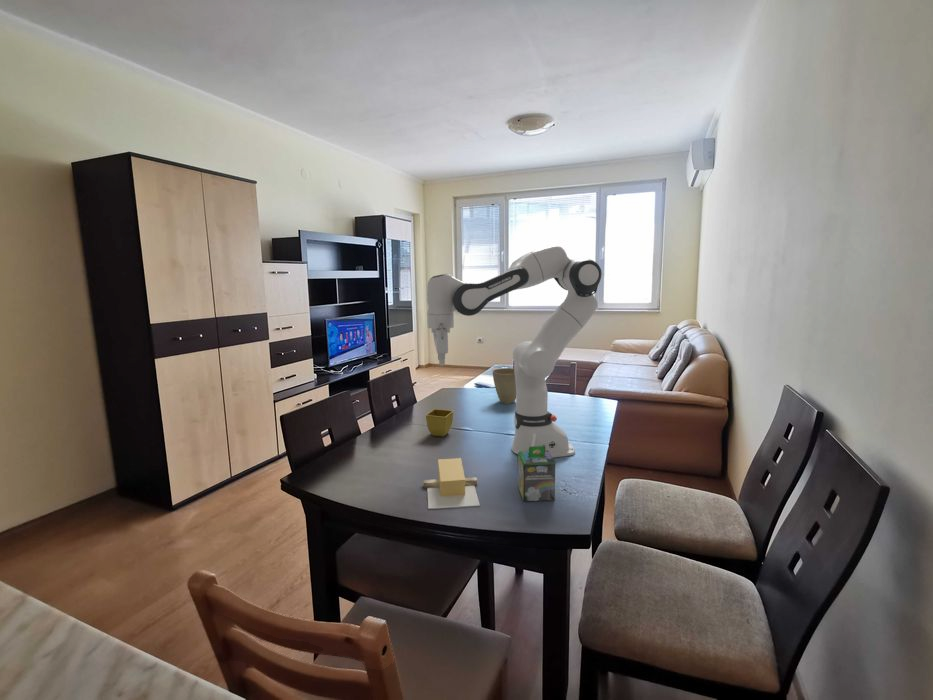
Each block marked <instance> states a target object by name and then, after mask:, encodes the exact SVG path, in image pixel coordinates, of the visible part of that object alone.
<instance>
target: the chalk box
mask: <svg viewBox="0 0 933 700" xmlns="http://www.w3.org/2000/svg"><path fill="white" fill-rule="evenodd" d="M534 450H537V451H534ZM517 455H518V458H517V459H518V460H517V462H518V465H517V466H518V468H517V469H518V490H519V492H520V496H521V498H522V501H523V502H549V501H550V502H551V501H552V502H554V501H555V500H556V499H555V498H556V495H555V493H556V489H555V488H556V461H555V460H554V459H555V458H552V456H551V454H550V453H549V451H548V450H545V446H532V447H529V451H523V452H518V454H517ZM553 500H554V501H553Z"/></svg>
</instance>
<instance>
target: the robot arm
mask: <svg viewBox="0 0 933 700" xmlns="http://www.w3.org/2000/svg"><path fill="white" fill-rule="evenodd" d="M601 268H602V267H600V264H598V263H597V262H596V261H594V260H593V259H590V258H574V259H570V258H569V257H568V255H567V253H566V250H565V249H564V248H563V247H562V246H561V245H558V244H552V245H548V246H543V247H540V248H537V249H534V250H533V251H530V252H527V253H525V254H524V255H522V256H520V257H519V258H517V259H516V260H514V261H512V262H511V265H510V266H509V267H508V269H506V271H504V272H503V273H501V274H499V275H496V276H495V277H492V278H490V279H488V280H486V281H483V282H480V283H467V282H464V281H462V280H459V279H457V278H456V277H454V276H452V274H450V273H443V274H438V275H433V276H432V277H430V278H429V280H428V282H427V289H426V301H427V306H428V309H427V313H426V314H427V328H428V329H431V334H432V335H433V344H434V346H435V350H436V353H437V360H438V361H439V363H438V365H439V366H445V364H446V361H445V360H446V354H448V353H449V336H448V334H450V332H451V329H453V328H454V327H455V326H454V322H455V321H454V320H455V319H454V313H455V311H457V312H458V313H459V314H461V315H463V316H468V317H469V316H471V317H472V316H475V315H477V314H479V313H480V312H481V311H482V310H483V309H484V308H485V306H487V304H488V303H490V302H491V301H494V300H496V299H497V298H500V297H501V296H504V295H505V294H508V293H510V292H513V291H516V290H521V289H528V288H530V287H534V286H537V285H538V286H539V285H540V284H542V283H545V282H547V281H549V280H552V279H554V280H555V281H556V283H557V284H558V286H559V287H560V288H562V289H563V290H565V291H567V295H566V297H565V299H564V301H563V302H562V303H561V304H560V305H559V306H558V307H557V308H556V309H555V310H554V311H553V312H552V314H551V315H550V316H549V317H548V318H547V319H546V320H545V321H544V323H543V324H542V326H541V328H540V330H539V332H538V333H537V335H536V336H535V338H534V339H533V340H526V341H522V342H520V343H518V344H516V346H515V347H514V349H513V352H512V357H513V358H512V359H513V369H514V373H515V382H516V399H515V401H516V402H515V403H516V404H515V405H516V406H515V412H514V427H515V428H514V436H513V441H512V445H511V451H512V452H513V453H514V454H516V455H518V452H523V451H529V447H532V446H545V450H548V451H549V453H550V454H551V456H552V458H553V459H555V458H560V457H568V456H573V455H575V454H576V451H575V447H574V445H572V444H571V443H570V442H569V439H568V436H567V433H566V432H565V431H564V429H562V428H561V427H560V426H558V425H557V424H556V423H554V422H556V421H557V419H558V418H557V416H556V415H554V414H553V413H551V412H549V411H548V400H549V399H548V397H549V396H548V394H549V393H548V387H547V383H546V381H547V380H546V378H547V377H549V376H550V375H551V374H552V373H553V371H554V369H555V365H556V363H557V362H558V360H559V359H560V357H561V356H562V353H563V352H564V350H565V349H566V348H567V346H568V345H569V343H570V342H571V341H572V340H573V339H574V338H575V337H576V336H577V334H579V332H580V331H582V329H583V328H584V327H585V326H586V324H587V323H588V322H590V321H589V320H590V319H591V318H592V316H593V315H594V313H595V312H596V310H597V308H598V300H597V298H596V296H595V294H596V293H597V292H598V291H597V290H598V287H599V285H600V282H601V279H602V273H603V272H602V269H601ZM534 451H537V450H534Z"/></svg>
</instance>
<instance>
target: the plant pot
mask: <svg viewBox="0 0 933 700" xmlns="http://www.w3.org/2000/svg"><path fill="white" fill-rule="evenodd" d="M491 372H492V378H493V379H492V380H493V384H494V388H495V391H496V394H497V397H498V401H499V403H501V404H507V405H509V404H513V403H516V402H515V401H516V382H515V373H514V367H513V368H511V367H509V368H508V367H506V368H505V367H503V368H496V369H493V370H491Z"/></svg>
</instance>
